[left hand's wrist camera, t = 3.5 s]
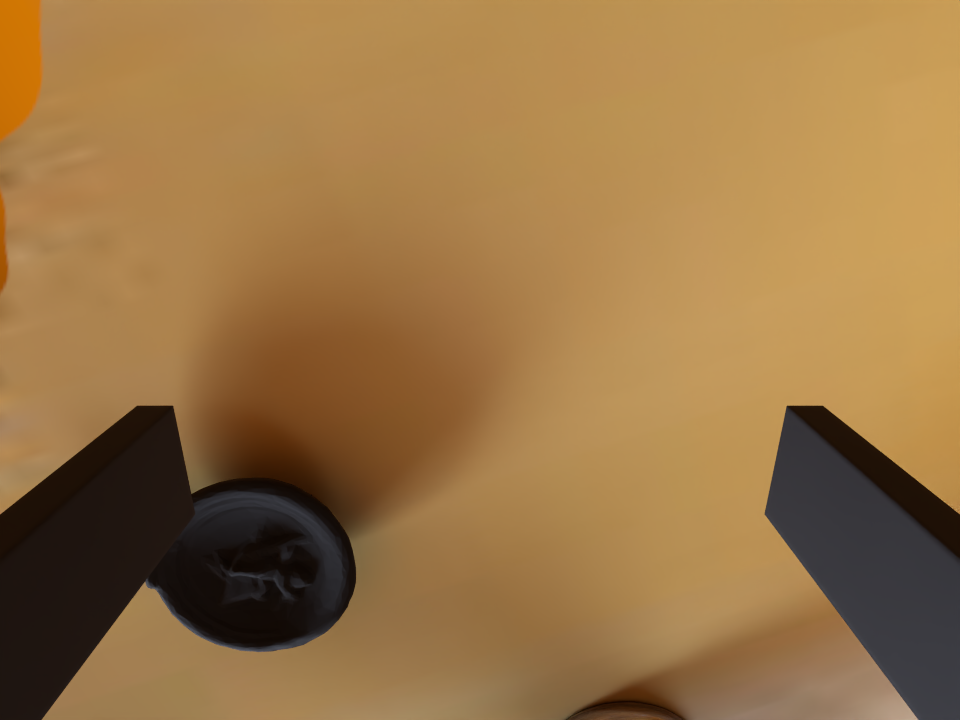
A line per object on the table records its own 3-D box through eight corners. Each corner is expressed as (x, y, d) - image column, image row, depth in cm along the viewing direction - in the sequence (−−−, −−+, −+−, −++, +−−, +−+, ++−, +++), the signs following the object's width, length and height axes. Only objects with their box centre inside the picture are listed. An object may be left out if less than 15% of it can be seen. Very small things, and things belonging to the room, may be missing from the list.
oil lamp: (143, 399, 43) (102, 431, 38) (393, 495, 46) (384, 536, 41) (100, 551, 48) (59, 596, 43) (329, 629, 51) (314, 679, 46)
